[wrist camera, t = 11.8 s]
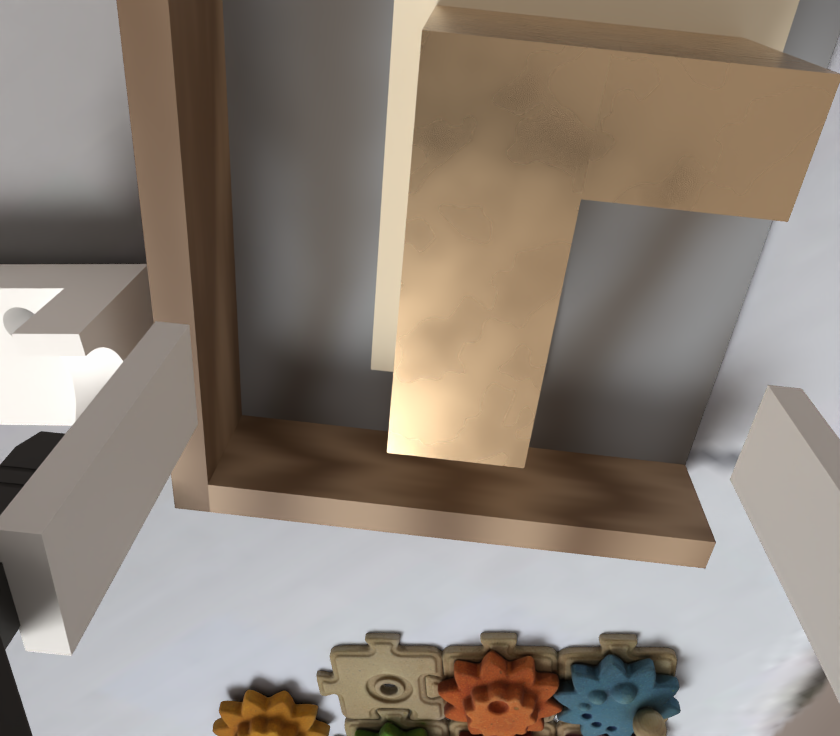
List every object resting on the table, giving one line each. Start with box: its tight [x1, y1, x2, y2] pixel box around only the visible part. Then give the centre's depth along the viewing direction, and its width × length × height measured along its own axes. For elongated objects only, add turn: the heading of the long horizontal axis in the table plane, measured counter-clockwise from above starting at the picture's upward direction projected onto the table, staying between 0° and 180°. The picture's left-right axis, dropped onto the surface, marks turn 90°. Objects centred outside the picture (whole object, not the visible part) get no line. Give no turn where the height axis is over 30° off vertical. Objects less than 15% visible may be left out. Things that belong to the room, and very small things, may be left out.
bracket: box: [0, 264, 154, 425], centre depth 32 cm, size 13×7×8 cm, turn 92°
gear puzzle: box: [213, 633, 681, 736], centre depth 48 cm, size 31×16×4 cm, turn 94°
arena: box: [117, 0, 840, 568], centre depth 29 cm, size 24×24×6 cm
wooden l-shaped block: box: [387, 5, 840, 468], centre depth 26 cm, size 14×11×8 cm
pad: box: [371, 0, 800, 372], centre depth 29 cm, size 14×17×1 cm
